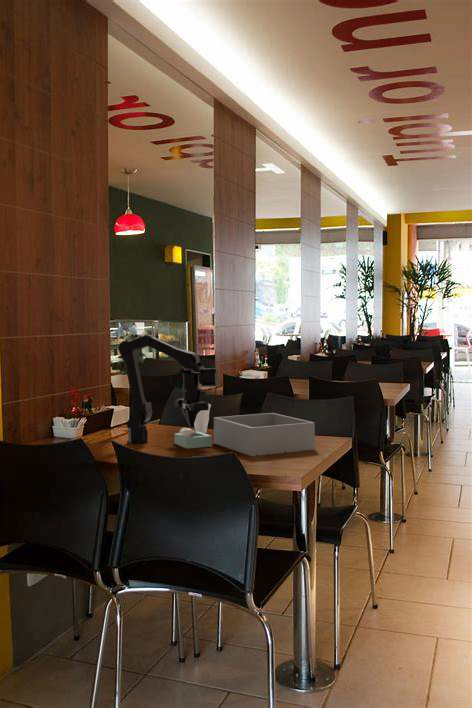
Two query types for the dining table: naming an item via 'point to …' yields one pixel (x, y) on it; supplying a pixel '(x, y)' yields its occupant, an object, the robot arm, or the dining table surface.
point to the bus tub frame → (264, 433)
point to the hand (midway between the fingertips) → (191, 427)
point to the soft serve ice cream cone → (202, 420)
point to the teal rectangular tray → (193, 440)
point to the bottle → (188, 432)
